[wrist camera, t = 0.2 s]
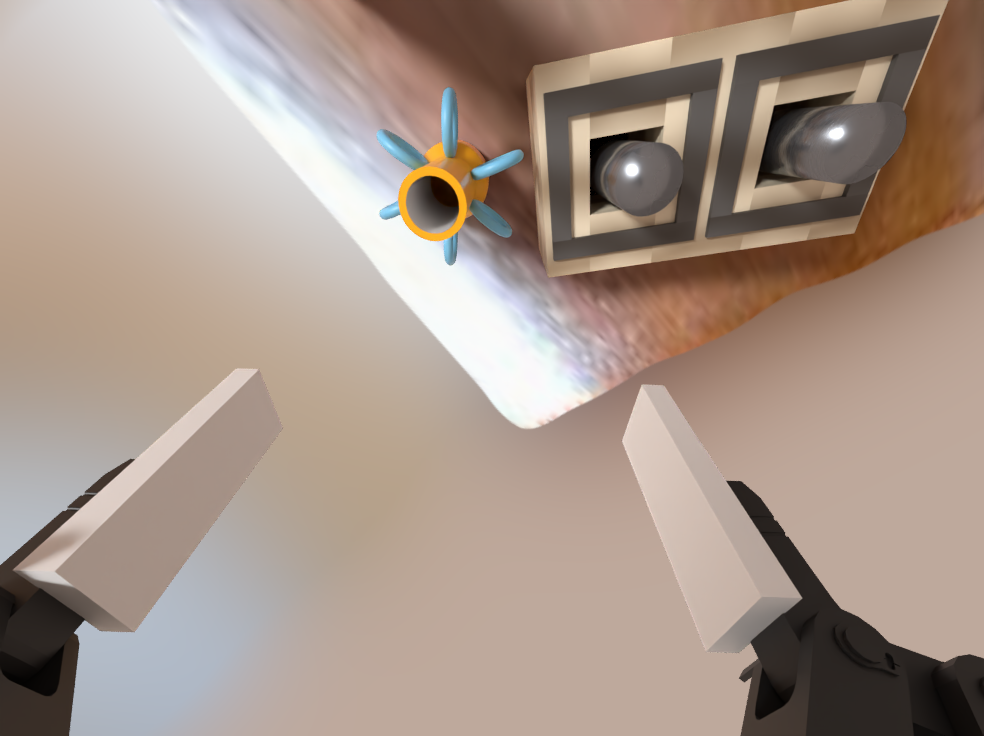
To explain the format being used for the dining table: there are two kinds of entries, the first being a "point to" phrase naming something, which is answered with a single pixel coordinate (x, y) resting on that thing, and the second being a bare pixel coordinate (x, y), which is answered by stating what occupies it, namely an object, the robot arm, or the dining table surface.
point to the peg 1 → (637, 175)
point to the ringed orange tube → (445, 183)
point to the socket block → (714, 130)
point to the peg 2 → (833, 141)
